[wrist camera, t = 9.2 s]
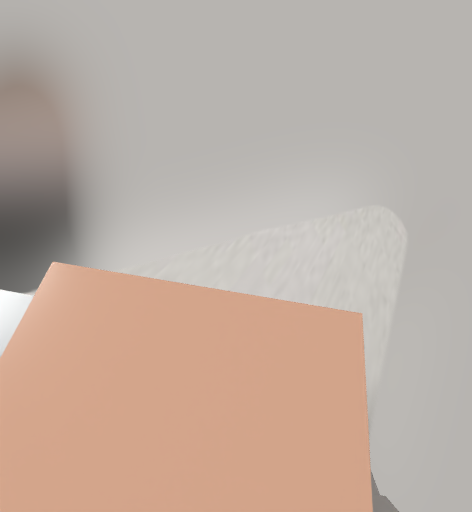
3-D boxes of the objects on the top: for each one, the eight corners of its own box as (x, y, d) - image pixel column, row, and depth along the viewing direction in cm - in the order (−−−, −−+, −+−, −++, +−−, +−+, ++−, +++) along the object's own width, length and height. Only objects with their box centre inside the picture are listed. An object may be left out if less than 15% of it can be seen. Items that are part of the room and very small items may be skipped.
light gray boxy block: (97, 401, 25) (23, 404, 16) (33, 388, 25) (-75, 384, 16) (122, 332, 28) (71, 302, 19) (64, 321, 28) (-12, 287, 19)
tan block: (264, 527, 11) (400, 1037, 2) (116, 495, 12) (-259, 832, 3) (278, 365, 14) (362, 313, 5) (160, 343, 14) (52, 261, 6)
